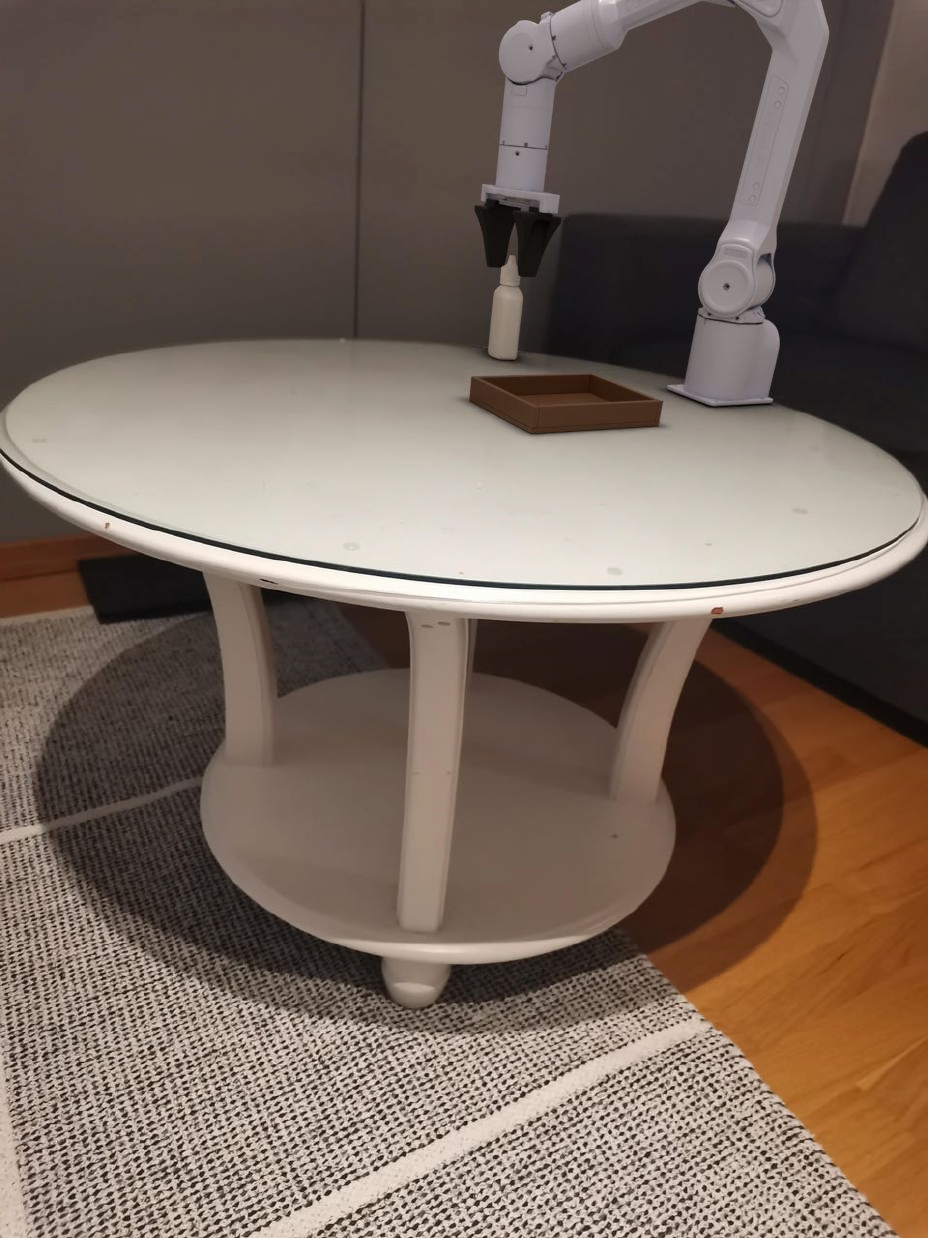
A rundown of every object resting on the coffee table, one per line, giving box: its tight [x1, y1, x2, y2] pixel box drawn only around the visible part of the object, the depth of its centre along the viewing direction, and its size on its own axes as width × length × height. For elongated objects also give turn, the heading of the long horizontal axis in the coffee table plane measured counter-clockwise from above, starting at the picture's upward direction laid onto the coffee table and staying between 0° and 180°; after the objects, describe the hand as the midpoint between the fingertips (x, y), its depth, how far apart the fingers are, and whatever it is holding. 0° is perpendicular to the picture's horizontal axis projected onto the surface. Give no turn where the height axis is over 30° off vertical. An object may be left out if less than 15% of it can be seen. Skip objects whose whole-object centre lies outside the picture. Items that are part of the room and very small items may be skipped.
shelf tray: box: [468, 372, 664, 435], centre depth 95 cm, size 15×12×2 cm
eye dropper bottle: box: [487, 254, 524, 361], centre depth 116 cm, size 4×6×12 cm
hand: (510, 271), depth 115 cm, fingers open, 7 cm apart
